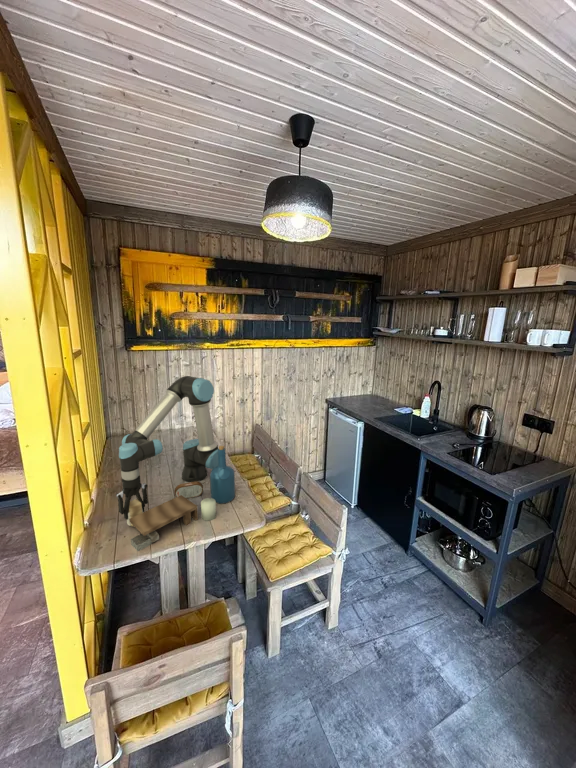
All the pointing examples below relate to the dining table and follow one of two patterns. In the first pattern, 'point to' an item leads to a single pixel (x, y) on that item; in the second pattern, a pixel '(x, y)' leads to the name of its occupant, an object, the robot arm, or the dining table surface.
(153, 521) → the shelf
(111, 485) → the dining table surface
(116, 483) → the dining table surface
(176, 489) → the tin
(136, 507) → the tool
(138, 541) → the grey stone block
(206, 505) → the cream cylinder
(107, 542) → the dining table surface
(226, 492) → the wine bottle
